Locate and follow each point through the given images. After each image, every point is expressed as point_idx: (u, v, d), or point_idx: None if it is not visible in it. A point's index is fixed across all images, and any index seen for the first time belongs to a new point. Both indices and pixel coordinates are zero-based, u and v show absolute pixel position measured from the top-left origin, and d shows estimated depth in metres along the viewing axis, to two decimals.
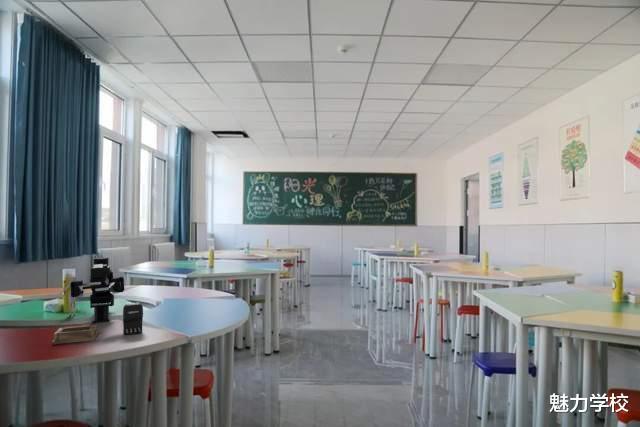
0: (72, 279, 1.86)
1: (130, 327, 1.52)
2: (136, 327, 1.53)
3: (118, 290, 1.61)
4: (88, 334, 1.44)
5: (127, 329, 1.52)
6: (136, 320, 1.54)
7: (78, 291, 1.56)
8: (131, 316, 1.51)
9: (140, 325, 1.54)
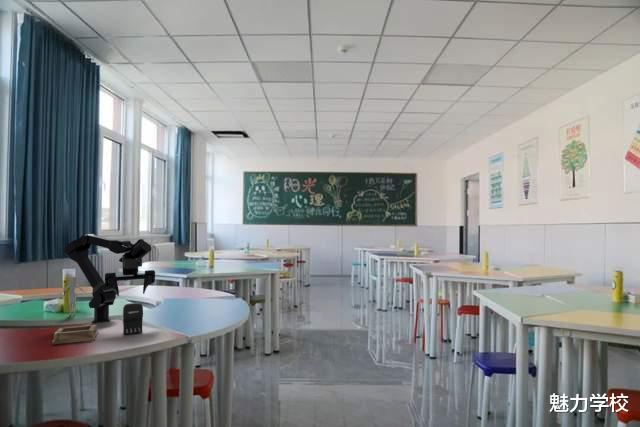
0: (72, 279, 1.86)
1: (130, 327, 1.52)
2: (136, 327, 1.53)
3: (149, 283, 1.69)
4: (88, 334, 1.44)
5: (127, 329, 1.52)
6: (136, 320, 1.54)
7: (112, 284, 1.62)
8: (131, 316, 1.51)
9: (140, 325, 1.54)
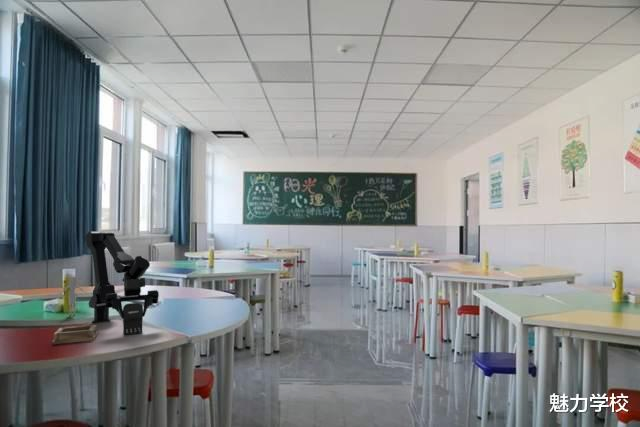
0: (72, 279, 1.86)
1: (130, 327, 1.52)
2: (136, 327, 1.53)
3: (149, 304, 1.60)
4: (88, 334, 1.44)
5: (127, 329, 1.52)
6: (136, 320, 1.54)
7: (116, 305, 1.54)
8: (131, 316, 1.51)
9: (140, 325, 1.54)
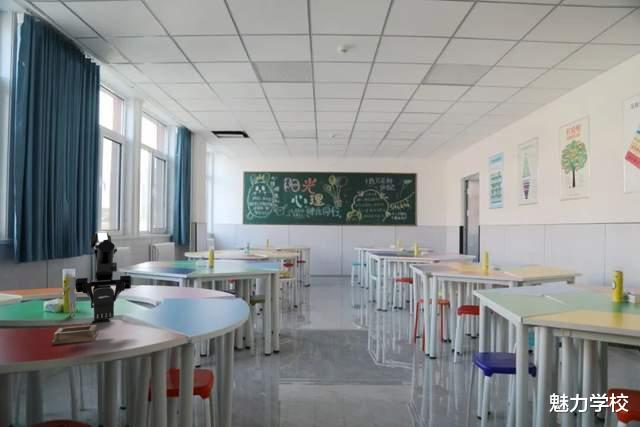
0: (72, 279, 1.86)
1: (101, 312, 1.50)
2: (107, 312, 1.51)
3: (122, 289, 1.57)
4: (88, 334, 1.44)
5: (98, 314, 1.49)
6: (107, 305, 1.51)
7: (87, 290, 1.51)
8: (101, 301, 1.48)
9: (111, 310, 1.51)
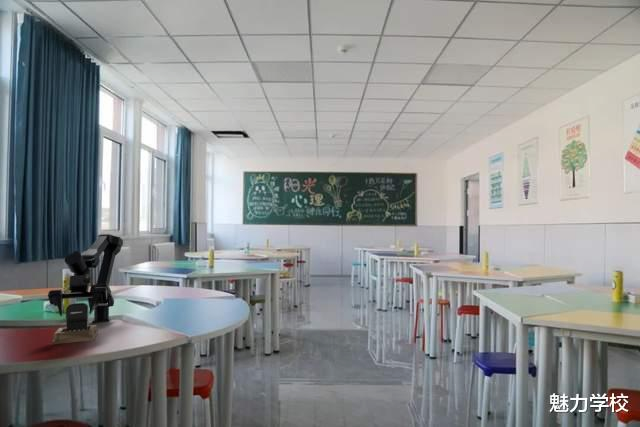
0: None
1: (74, 328, 1.47)
2: (80, 328, 1.47)
3: (100, 301, 1.54)
4: (88, 334, 1.44)
5: (70, 330, 1.46)
6: (80, 321, 1.48)
7: None
8: (73, 317, 1.45)
9: (85, 326, 1.48)
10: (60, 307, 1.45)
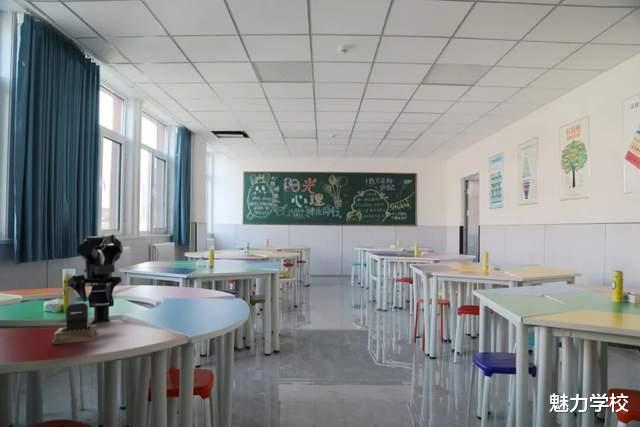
0: None
1: (74, 328, 1.47)
2: (80, 328, 1.47)
3: None
4: (88, 334, 1.44)
5: (70, 330, 1.46)
6: (80, 321, 1.47)
7: (77, 286, 1.55)
8: (73, 317, 1.45)
9: (85, 326, 1.48)
10: (84, 293, 1.54)
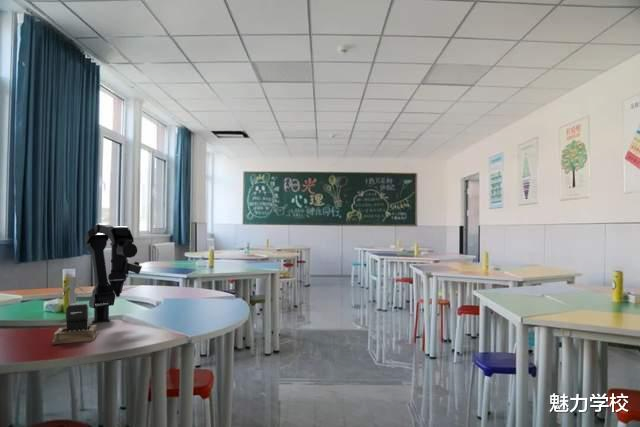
0: (72, 279, 1.86)
1: (74, 328, 1.47)
2: (80, 328, 1.47)
3: None
4: (88, 334, 1.44)
5: (70, 330, 1.46)
6: (80, 321, 1.47)
7: None
8: (73, 317, 1.45)
9: (85, 326, 1.48)
10: (120, 289, 1.60)
